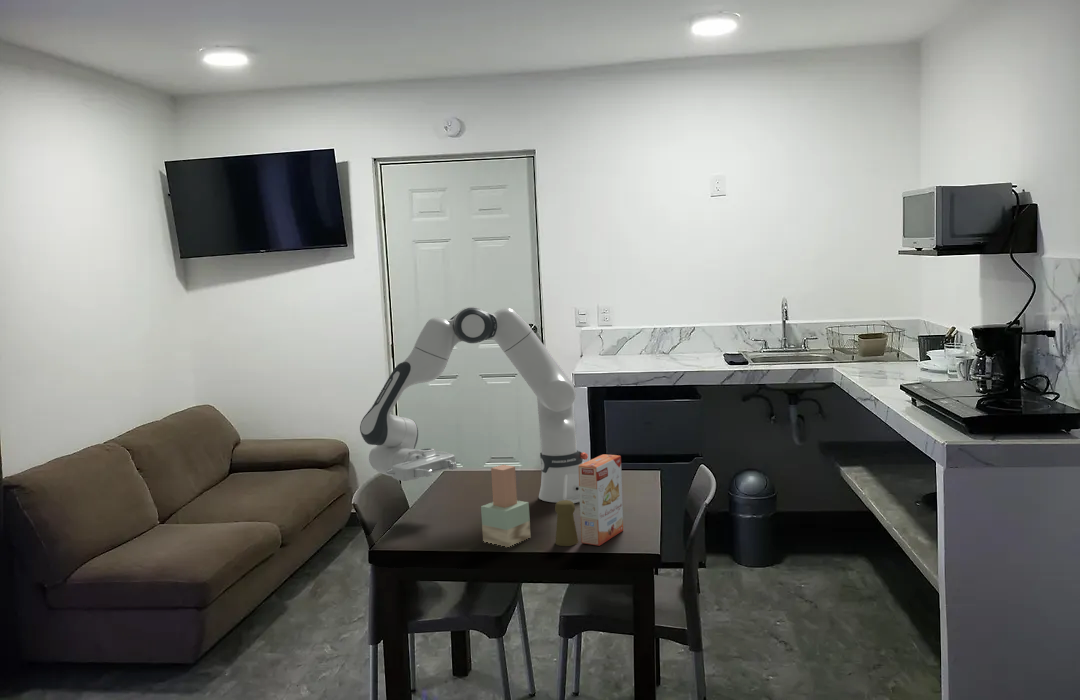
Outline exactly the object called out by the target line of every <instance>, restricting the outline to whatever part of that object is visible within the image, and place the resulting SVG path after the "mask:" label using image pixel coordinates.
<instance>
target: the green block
mask: <svg viewBox="0 0 1080 700" xmlns="http://www.w3.org/2000/svg"><path fill="white" fill-rule="evenodd" d="M480 512H481V514H480V515H481V526H482V525H486V526H491V527H495V528H500V529H504V530H508V529H511V528H513V527H516V526H518V525H521V524H523V523H526V522H528V521H531V519H530V518H531V517H530V505H529V501H522V500H518V499H517V504H515V505H512V506H509V507H506V508H504V507H500V506H495V505H493V501H491V502H489V503H486V504H484V505H481V506H480Z"/></svg>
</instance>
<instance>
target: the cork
mask: <svg viewBox="0 0 1080 700" xmlns="http://www.w3.org/2000/svg"><path fill="white" fill-rule="evenodd" d="M554 510H555V514H556V517H557V518H556V529H555V530H556V531H555V540H554V541H555V545H556V546H559V547H571V546H575V545H578V544H579V539H578V534H577V533H578V532H577V528H576V522H575V517H574V513H575V510H576V506H575V503H573V502H572V501H569V500H562V501H558V502H555V504H554Z"/></svg>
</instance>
